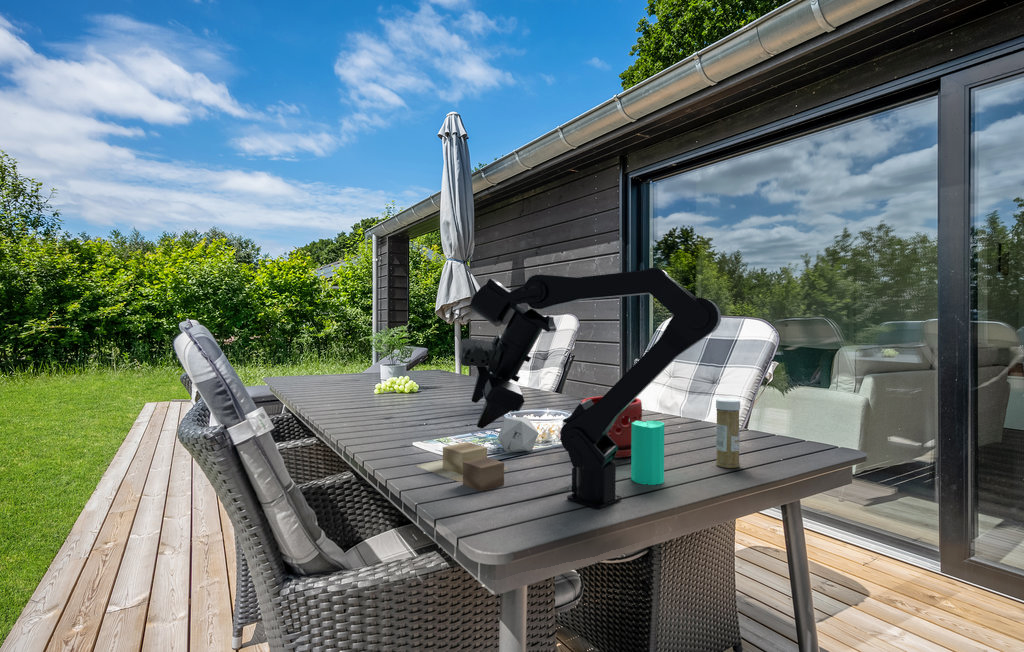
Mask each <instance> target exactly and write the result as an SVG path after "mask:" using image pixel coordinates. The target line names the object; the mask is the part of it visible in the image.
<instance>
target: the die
mask: <svg viewBox="0 0 1024 652" xmlns="http://www.w3.org/2000/svg"><path fill="white" fill-rule="evenodd" d="M539 434H540V433H539V431H538V430H537V429H536V427H535V426H534V425H533V423H532V422H531V420H530V419H529V418H528V416H519V417H516V416H515V417H504V420H503V421H502V425H501V427H500V430H499V432H498V435H497V441H498V442H499V443H498V444H500V445H501V447H502V449H503V451H505V452H509V453H510V452H511V453H521V452H530V451H533V450H534V446H535V444H536V441H537V440H538V436H539Z"/></svg>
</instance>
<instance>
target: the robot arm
mask: <svg viewBox="0 0 1024 652" xmlns="http://www.w3.org/2000/svg"><path fill="white" fill-rule="evenodd" d="M642 295H651V296H653V298H654V299H656V300H657V301H658V302H659V303H660V304H661V305H662V306H664V308H665V309H666V310H668V312H670V313H671V314H673V315H672V317H671V318H670V320H669V322H668V323H667V325H666V327H665V329H664V330H663V332H662V334H661V336H660V337H659V338H658V340H657V341H656V342H655V343H654V344H653V345H652V346H651V347H650V348H649V349H648V350H647V351H646V352H645V353H644V354H643V355H642V356H641V357H640V358H639V360H637V361H636V362H635V364H634V365H632V367H630V368H629V369H628V371H627V372H626V373H625V374H623V376H622V377H621V378H620V379H619V380H618V381H617V382H615V384H614V385H613V386H612V387H611V388H610V389H609V390H608V391H607V392H606V393H605V394H604V395H602V396H603V397H602V398H601V399H600V400H599V401H598V402H597V403H595V404H594V403H593V402H592V400H591V399H589V400H587V401H585V402H583V403H581V402H580V403H579V404H578V405H577V406H576V407H575V409H574V410H573V412H572V414H571V415H569V416H568V417H566V418H564V419H562V422H563V423H565V424H563V426H562V427H561V429H560V432H559V437H560V442H561V445H562V446H563V448H564V450H565V451H567V453H568V456H569V460H570V462H571V465H572V468H571V494H568V495H567V496H566V499H567V500H569V501H573V502H576V503H578V504H581V505H584V506H588V507H591V508H594V509H602V508H604V507H606V506H610V505H611V504H615V503H617V502H619V501H621V500H622V496H621V495H618V494H616V486H617V485H616V482H617V481H616V479H617V478H616V477H617V475H616V474H617V473H616V472H617V468H616V467H617V465H616V463H614V462H612V461H611V460H612V459H614V457H615V455H616V452H617V450H618V445H617V444H616V443H615V442H614V441H613V440H612V439H611V438H610V437H609V436H608V432H609V431H610V429H611V428H612V426H613V424H614V423H615V421H616V419H617V417H618V416H619V414H620V413H621V412H622V411H623V410H624V409H625V408H626V407H627V406H628V405H629V404H630V403H631V402H632V401H633V400H634V399H635V398H638V396H640V395H641V394H642V392H644V391H645V390H646V389H647V388H648V386H650V385H651V384H652V383H653V382H654V381H655V379H657V378H658V377H659V376H660V375H661V374H662V373H663V372H665V370H666V369H667V368H668V367H669V366H670V365H671V364H672V363H673V362H674V361H676V359H677V358H678V357H679V356H680V355H682V354H683V353H685V352H686V351H687V350H689V349H691V348H692V347H694V346H695V345H697V344H698V343H699V342H701V341H702V340H704V339H706V338H707V337H708V336H710V335H711V334H713V333H714V332H715V331H716V330H718V328H719V326H720V325H721V322H722V313H721V311H720V307H718V305H717V304H716V303H715V302H713V301H712V300H710V299H708V298H704V297H696V296H695V295H693V293H691V292H690V291H688V289H686V288H685V287H684V286H682V285H681V284H680V283H679V282H677V281H676V280H674V279H673V278H672V277H671V276H670V275H669V274H668V273H667V272H666V271H665V270H663V269H661V268H659V267H653V266H652V267H650V268H647V269H641V270H633V271H632V270H631V271H624V272H614V273H606V274H597V275H589V276H587V275H586V276H578V277H575V276H574V277H573V276H564V275H552V274H551V275H550V274H535V275H532V276H531V275H530V276H529V277H528V279H527V280H526V281H525V283H524V285H522V286H519V287H518V288H516V289H513V290H510V289H508V288H507V287H506V286H504V285H503V284H502V283H501V282H499V281H498V280H497V279H493V278H489V279H488V280H487V282H486V283H485V284H483V285H482V286H481V287H480V288H479V289H477V292H475V293H474V294H473V296H472V298H471V300H470V306H469V307H470V310H471V311H473V312H474V313H475V314H477V315H478V316H480V317H482V318H483V319H484V320H485V321H487V322H488V323H490V324H492V325H493V326H495V327H500V326H502V325H503V326H506V327H505V329H504V330H503V332H502V334H497V335H496V336H495V337H494V339H492V341H490V340H484V339H473V338H472V339H471V338H462V339H461V340H460V348H459V356H458V357H459V363H460V365H462V366H464V367H476V369H477V375H476V379H475V384H474V388H473V393H472V395H471V399H470V400H471V402H473V403H475V404H477V403H478V402H479V401H480V400H482V399H483V398H484V400H485V403H483V404H484V405H483V407H482V410H481V412H480V415H479V417H478V420H477V424H476V427H477V429H484V428H485V427H487V426H489V425H490V424H491V423H494V422H495V421H496V420H497V419H499V418H501V417H503V416H505V415H506V414H508V413H510V412H520V411H521V409H522V407H523V405H524V404H525V398H524V395H523V393H522V391H521V388H520V386H519V385H518V384H516V383H519V380H520V378H521V376H520V374H519V372H520V370H521V368H522V367H523V365H524V364H525V362H527V363H529V362H531V361H530V360H531V359H532V356H531V350H533V348H534V346H535V344H536V342H537V340H538V338H539V337H540V335H541V333H542V332H543V331H545V332H546V333H552V332H553V333H554V332H557V330H558V329H557V327H556V324H555V319H554V316H553V315H546V316H545V315H543V314H542V313H540V312H539V311H537V310H548V311H551V310H553V311H554V310H556V309H560V308H563V307H567V306H570V305H573V304H576V303H578V302H583V301H586V300H599V299H600V300H601V299H607V298H621V297H630V296H631V297H632V296H642ZM520 305H524V306H525V305H527V306H529V308H530V309H525V308H523V307H522V306H520ZM510 381H514V382H516V383H513V382H510Z"/></svg>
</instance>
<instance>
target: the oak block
mask: <svg viewBox="0 0 1024 652" xmlns="http://www.w3.org/2000/svg"><path fill="white" fill-rule="evenodd" d="M482 457H487V458H488V447H487V446H483V445H479V444H476V443H472V442H467V441H466V442H461V443H456V444H452V445H447V446H442V459H443V468H444V469H447V470H450V471H453V472H456V473H459V474H462V475H463V462H465V461H470V460H474V459H478V458H482Z"/></svg>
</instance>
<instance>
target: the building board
mask: <svg viewBox="0 0 1024 652" xmlns="http://www.w3.org/2000/svg"><path fill="white" fill-rule="evenodd" d="M415 467H417V468H418V469H422V470H425V471H427V472H430V473H433V474H435V475H439V476H441V477H444V478H447V479H450V480H453V481H456V482H458V483H463V475H462V474H459V473H456V472H453V471H450V470H447V469H444V468H443V458H442V459H438V460H434V461H430V462H425V463H421V464H420V463H419V464H416V465H415ZM507 470H510V468H509V467H505V466H504V471H507Z"/></svg>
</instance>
